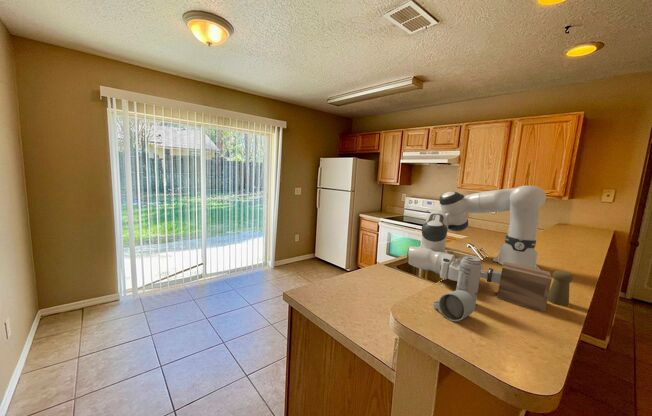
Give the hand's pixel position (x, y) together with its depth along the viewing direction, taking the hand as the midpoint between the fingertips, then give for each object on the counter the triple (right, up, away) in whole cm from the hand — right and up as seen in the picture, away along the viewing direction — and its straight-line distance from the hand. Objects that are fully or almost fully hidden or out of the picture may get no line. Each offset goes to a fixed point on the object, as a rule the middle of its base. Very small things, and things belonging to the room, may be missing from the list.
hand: (488, 275), depth 98 cm
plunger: (+5, -3, -3) cm, 7 cm away
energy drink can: (-14, -7, -10) cm, 18 cm away
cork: (+22, -9, -4) cm, 24 cm away
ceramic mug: (-22, -7, -18) cm, 30 cm away
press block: (+8, -7, -5) cm, 12 cm away
